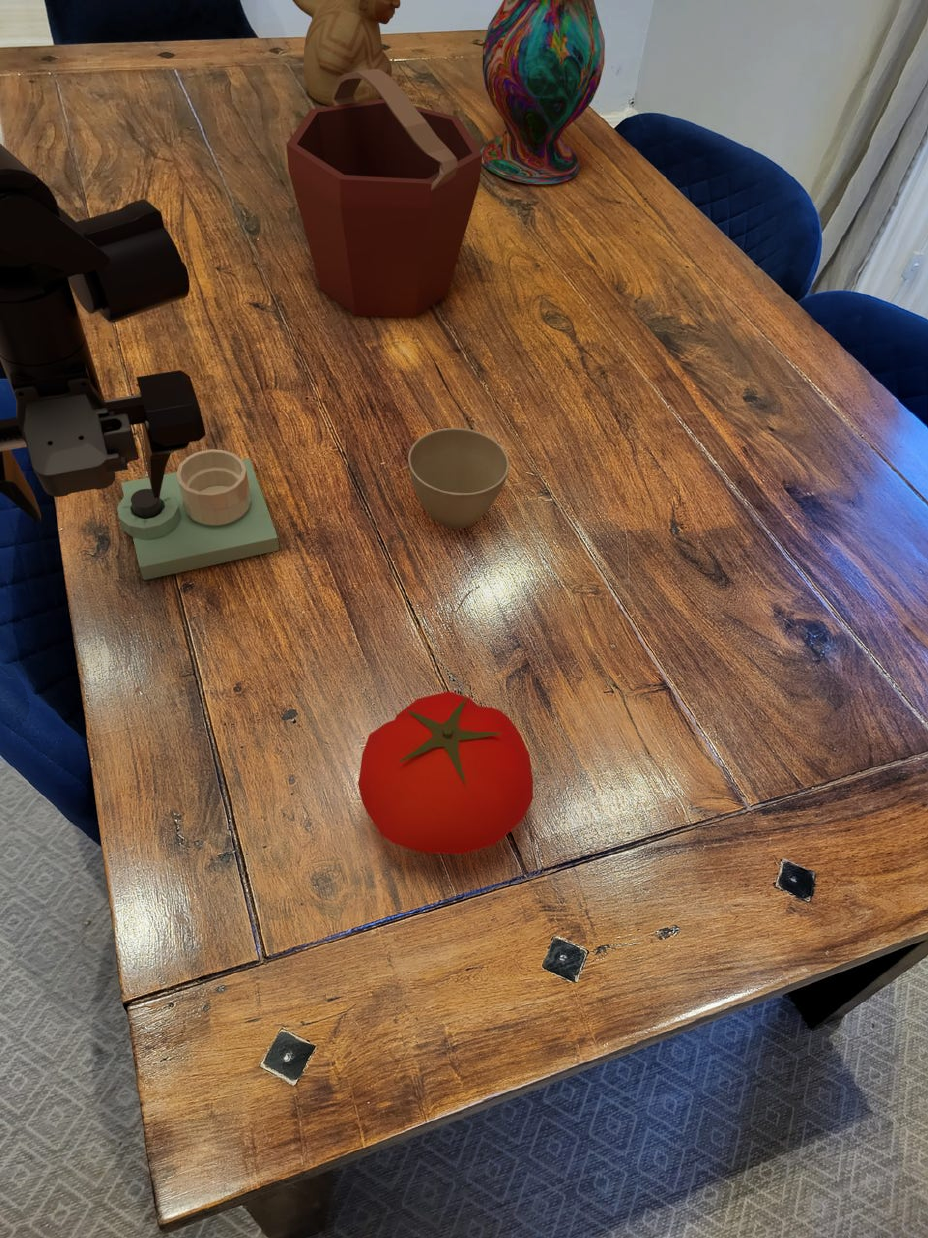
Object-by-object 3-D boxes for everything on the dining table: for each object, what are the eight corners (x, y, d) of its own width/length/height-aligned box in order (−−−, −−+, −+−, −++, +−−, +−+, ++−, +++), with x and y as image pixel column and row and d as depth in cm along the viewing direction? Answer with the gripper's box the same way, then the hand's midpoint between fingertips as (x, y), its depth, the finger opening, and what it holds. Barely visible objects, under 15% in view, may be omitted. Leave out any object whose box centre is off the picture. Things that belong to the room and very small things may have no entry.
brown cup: (516, 534, 90) (525, 482, 85) (425, 555, 87) (428, 503, 82) (480, 471, 96) (486, 418, 90) (393, 489, 93) (394, 436, 87)
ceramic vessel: (385, 123, 148) (386, -57, 129) (275, 103, 150) (259, -78, 131) (411, 86, 159) (416, -86, 139) (309, 68, 161) (299, -105, 141)
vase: (586, 145, 149) (624, -73, 126) (584, 196, 138) (626, -34, 114) (479, 132, 149) (498, -89, 126) (468, 181, 138) (486, -51, 114)
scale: (135, 582, 82) (127, 557, 80) (117, 497, 89) (109, 471, 86) (279, 550, 86) (276, 525, 84) (251, 471, 93) (247, 445, 90)
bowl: (191, 534, 84) (183, 500, 81) (179, 490, 88) (171, 456, 84) (257, 520, 86) (252, 487, 82) (243, 478, 90) (237, 444, 86)
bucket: (486, 329, 113) (508, 123, 93) (315, 347, 108) (301, 132, 88) (436, 233, 127) (446, 36, 107) (283, 244, 122) (265, 40, 102)
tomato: (508, 731, 75) (523, 659, 67) (537, 868, 68) (559, 806, 60) (352, 746, 73) (349, 674, 65) (365, 889, 66) (363, 827, 58)
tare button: (136, 521, 83) (132, 509, 82) (132, 503, 84) (128, 491, 83) (164, 516, 84) (161, 504, 83) (159, 497, 85) (156, 486, 84)
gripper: (-113, 440, 52) (-20, 605, 65) (203, 388, 58) (233, 550, 70) (-112, 335, 59) (-28, 504, 71) (173, 297, 64) (206, 460, 76)
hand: (98, 506), depth 72 cm, fingers open, 9 cm apart
